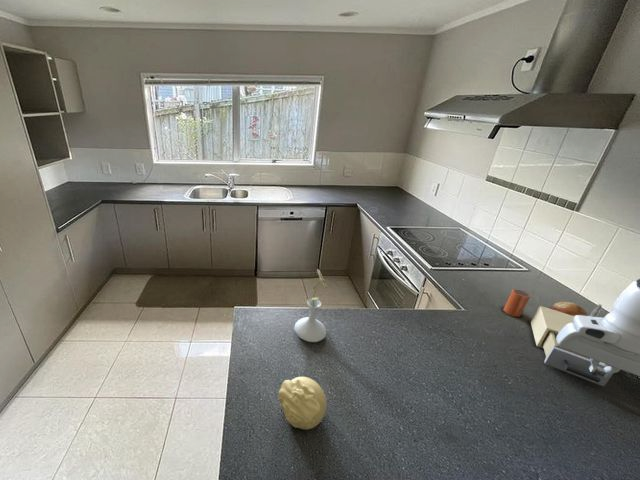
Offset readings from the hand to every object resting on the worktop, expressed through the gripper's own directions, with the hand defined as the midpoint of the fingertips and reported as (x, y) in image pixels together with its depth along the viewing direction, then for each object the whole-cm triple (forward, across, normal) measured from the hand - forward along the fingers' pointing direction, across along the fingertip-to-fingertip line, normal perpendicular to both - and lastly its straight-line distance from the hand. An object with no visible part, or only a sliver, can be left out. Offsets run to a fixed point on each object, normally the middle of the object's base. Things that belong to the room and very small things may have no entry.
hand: (596, 373), depth 78 cm
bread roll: (+11, -6, -51) cm, 52 cm away
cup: (+11, +13, -38) cm, 42 cm away
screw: (+11, -9, -43) cm, 45 cm away
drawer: (+10, 0, -15) cm, 18 cm away
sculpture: (+12, +63, +56) cm, 85 cm away
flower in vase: (+12, +75, +27) cm, 80 cm away
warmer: (+10, 0, -28) cm, 29 cm away
